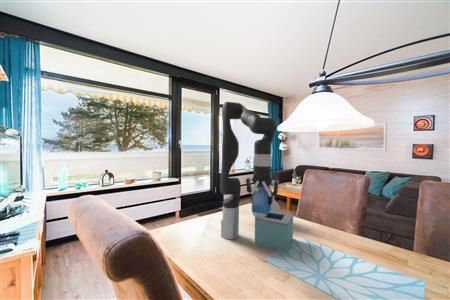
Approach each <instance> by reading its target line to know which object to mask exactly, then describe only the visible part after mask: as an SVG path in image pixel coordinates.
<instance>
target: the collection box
mask: <svg viewBox="0 0 450 300" xmlns="http://www.w3.org/2000/svg"><path fill="white" fill-rule="evenodd" d="M293 232H294V213H290V212H289V213H288V212H283V211H280V212H277V211H270V212H268V213H267V214H266V215H265V214H259V215H258V216H257V217H256V218H255V217H254V246H259V247H262V248H267V249H271V250H275V251H278V252H283V253H286V254H287V253H288V252H289V249H290V246H291V243H292V241H293V240H294V236H293V235H294V233H293Z"/></svg>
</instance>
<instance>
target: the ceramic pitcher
mask: <svg viewBox="0 0 450 300" xmlns="http://www.w3.org/2000/svg"><path fill="white" fill-rule="evenodd" d="M257 190H258V189H257ZM257 190H256V191H257ZM265 190H266V189H265ZM271 190H272V192H273V191H274V188H271ZM250 209H251V213H252V216H253V217H254V219H255V218H256V217H257V216H258V215H259V214H260V213H255V212H252V204H251V206H250ZM271 211H277V212H281V207H280V205H279V203H278V202H276V200H275V196H273V202H272V204H271Z"/></svg>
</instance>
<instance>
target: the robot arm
mask: <svg viewBox="0 0 450 300" xmlns="http://www.w3.org/2000/svg"><path fill="white" fill-rule="evenodd" d="M221 117H222V121H221V122H222V140H221V141H222V142H221V169H220V170H221V171H220V182H219V189H220V193H221V194H222V195H224V196H226V195H228V197H227V198H225V199H224V200H222V218H221V219H220V220H221V221H220V236H221V237H223V239H226V240H235V239H236V240H237V239H238V238H239V234H240V233H239V232H240V231H239V228H240V227H239V226H240V202H241V190H242V188H241V181H240V179H239V178H238V177H230V174H231V173H230V171H231V169H232V167H233V166H234V164H235V162H236V161H237V159H238V156H239V151H240V150H239V149H240V145H239V144H240V143H239V139H238V138H237V137H236V134H235V133H234V131H233V128H232V125H231V120H240V121H241V123H242V124H243V125H244V126H246V127H248V129H249V130H250V132H251V133H253V134H255V135H263V136H262V137H261V139H257V140H255V142H254V146H253V148H254V150H253V151H254V152H253V153H254V154H253V163H252V164H253V169H252V171H253V173H252V175H253V177H251V178H250V177H247V178H246V179H245V183H246V192H247V193H250V201H251V202H252V197H253V195H254V193H255V192H256V190H257V189H258V186H259V183H260V184H263V187H264V188H265V189H266V191H267V193H268V195H269V196H268V205H271V204H272V202H273V196H274V197H275V196H277V194H278V192H279V183H280V182H279V181H280V180H274V179H272V143H273V139H274V136H275V134H276V130H277V129H276V128H277V124H276V121H275V120H274V118H271V117H261V115H259V114H258V113H256V112H254V111H251V110H249V109H248V108H247V107H246V106H245V105H243V104H242V103H240V102H234V101H233V102H232V101H224V103H223V105H222V108H221ZM252 183H253V184H254V185H253V188H252ZM271 184H272V186H273V189H274V191H273V192H272V190H271V189H272V188H271Z"/></svg>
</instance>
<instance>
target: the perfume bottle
mask: <svg viewBox="0 0 450 300" xmlns="http://www.w3.org/2000/svg"><path fill="white" fill-rule="evenodd" d="M268 196H269V195H268V193H267V191H266V190H265V188H264V187H263V184H260V183H259V186H258V190H257V191H256V192H255V193H254V195H253V197H252V201H251V205H252V211H251V213H252V212H255V213H260V214H265V215H266V214H267V213H268V212H270V211H271V205H268Z"/></svg>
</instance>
